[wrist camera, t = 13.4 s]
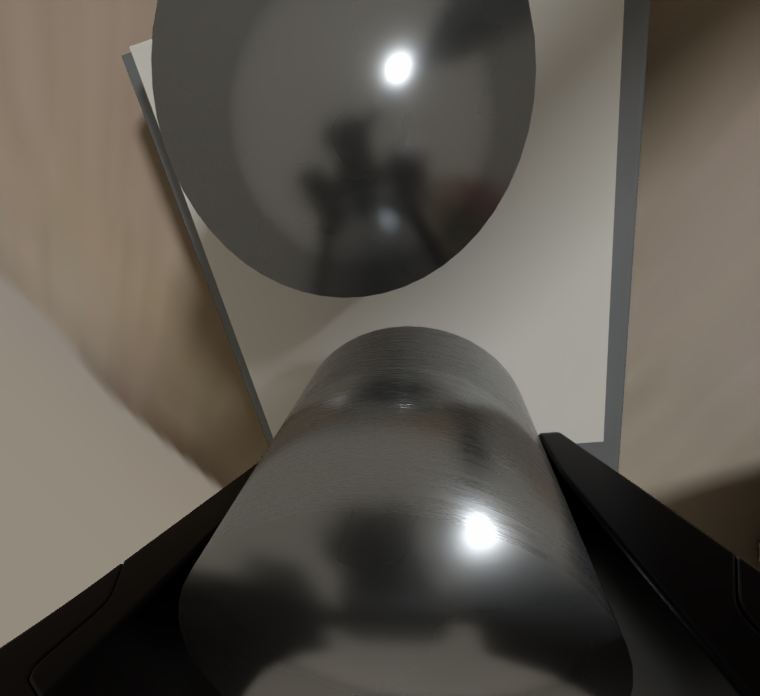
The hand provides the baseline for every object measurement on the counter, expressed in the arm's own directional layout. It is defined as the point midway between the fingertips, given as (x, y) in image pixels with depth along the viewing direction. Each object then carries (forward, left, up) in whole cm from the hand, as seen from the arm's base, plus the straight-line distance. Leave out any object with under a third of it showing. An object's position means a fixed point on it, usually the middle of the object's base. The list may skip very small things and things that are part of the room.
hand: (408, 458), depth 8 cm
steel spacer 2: (0, 0, -1) cm, 1 cm away
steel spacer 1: (0, -6, -5) cm, 8 cm away
